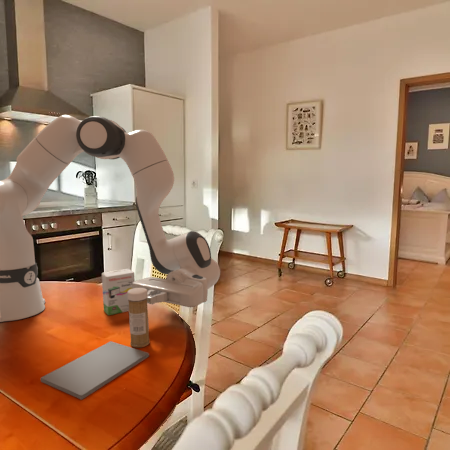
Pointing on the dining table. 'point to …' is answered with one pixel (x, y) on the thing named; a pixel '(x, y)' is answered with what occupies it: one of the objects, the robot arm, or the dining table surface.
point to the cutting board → (94, 369)
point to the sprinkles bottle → (138, 317)
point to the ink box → (116, 290)
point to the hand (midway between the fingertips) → (146, 300)
